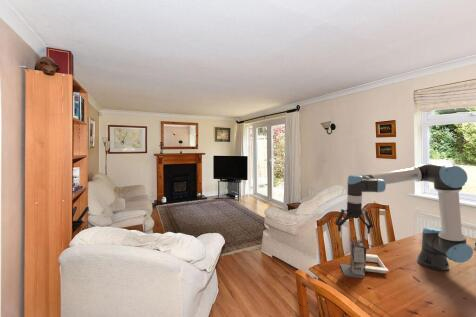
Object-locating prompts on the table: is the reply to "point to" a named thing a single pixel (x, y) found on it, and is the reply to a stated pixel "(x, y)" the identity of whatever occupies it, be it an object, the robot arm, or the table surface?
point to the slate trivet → (349, 271)
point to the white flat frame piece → (375, 269)
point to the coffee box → (358, 257)
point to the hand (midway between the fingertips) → (353, 237)
